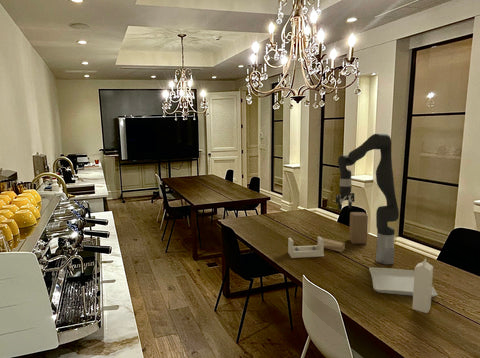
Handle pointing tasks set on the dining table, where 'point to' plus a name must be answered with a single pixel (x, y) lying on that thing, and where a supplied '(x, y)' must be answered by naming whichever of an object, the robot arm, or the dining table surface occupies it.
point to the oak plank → (334, 245)
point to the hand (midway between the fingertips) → (345, 208)
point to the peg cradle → (306, 249)
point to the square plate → (394, 281)
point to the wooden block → (358, 227)
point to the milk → (422, 287)
